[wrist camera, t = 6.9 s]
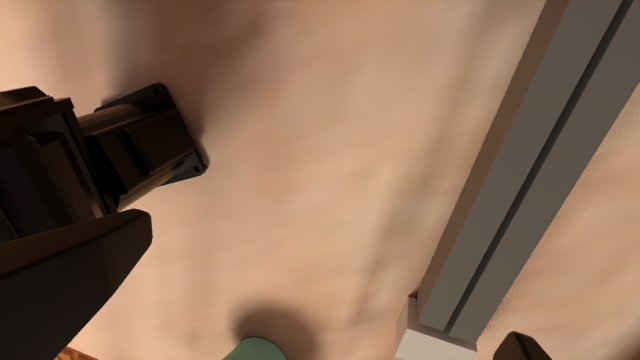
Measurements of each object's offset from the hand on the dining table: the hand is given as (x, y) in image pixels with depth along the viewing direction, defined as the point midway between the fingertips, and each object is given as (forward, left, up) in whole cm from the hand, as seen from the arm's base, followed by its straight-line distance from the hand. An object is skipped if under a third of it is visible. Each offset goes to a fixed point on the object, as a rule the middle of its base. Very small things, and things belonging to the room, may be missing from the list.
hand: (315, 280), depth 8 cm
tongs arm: (+6, -2, -12) cm, 14 cm away
